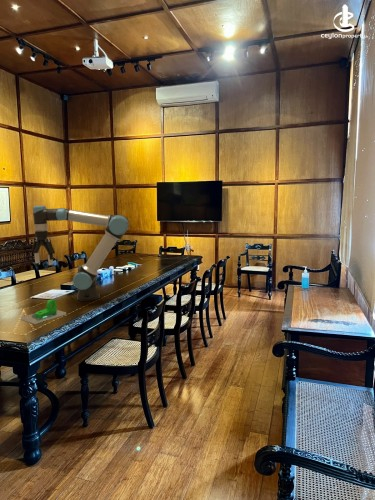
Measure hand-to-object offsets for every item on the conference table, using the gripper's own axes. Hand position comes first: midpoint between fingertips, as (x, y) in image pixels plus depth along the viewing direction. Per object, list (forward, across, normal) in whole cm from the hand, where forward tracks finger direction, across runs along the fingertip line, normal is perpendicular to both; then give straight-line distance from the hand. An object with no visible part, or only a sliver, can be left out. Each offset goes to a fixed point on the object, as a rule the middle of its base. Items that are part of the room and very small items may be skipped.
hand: (44, 263), depth 222 cm
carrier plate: (+28, +18, -15) cm, 36 cm away
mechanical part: (+26, +18, -14) cm, 35 cm away
